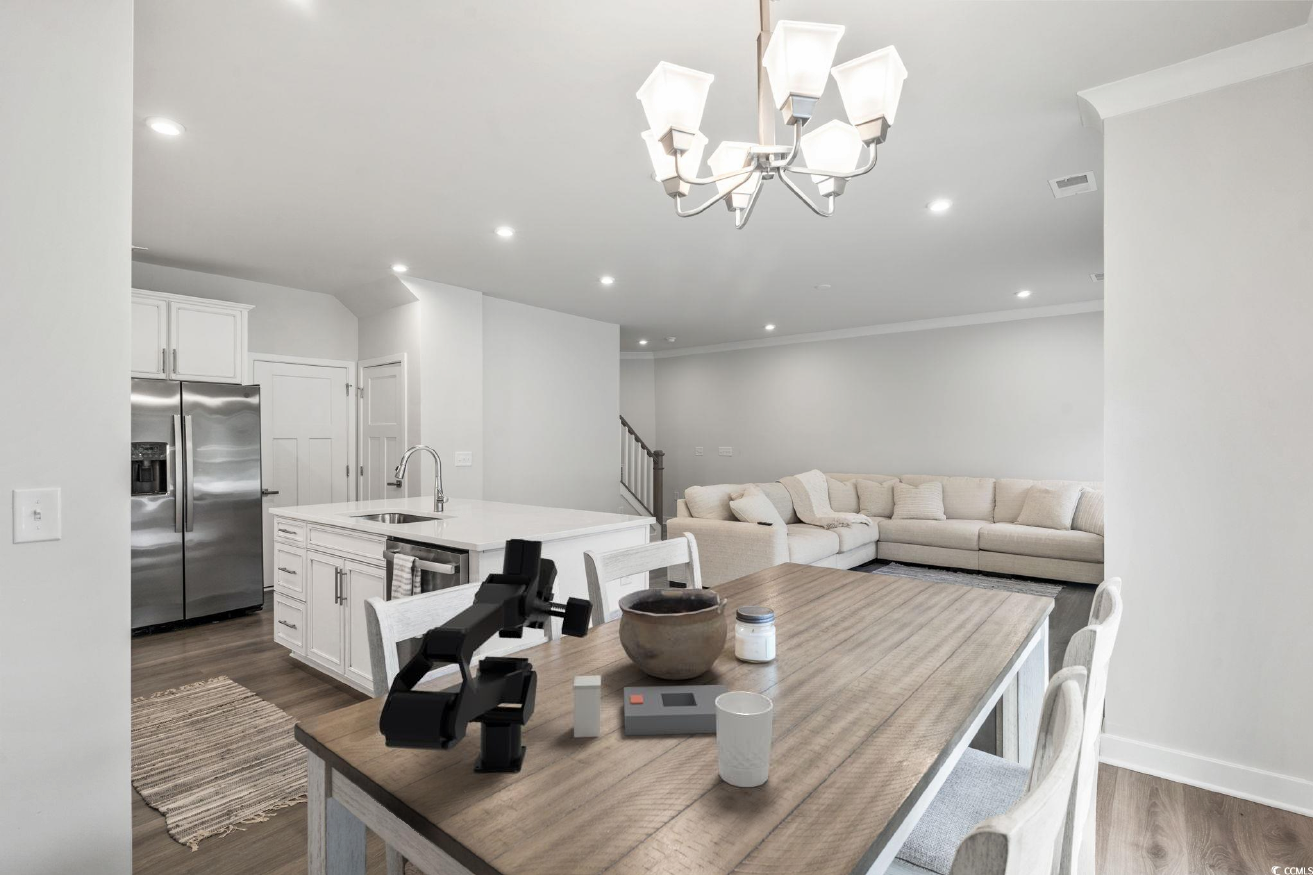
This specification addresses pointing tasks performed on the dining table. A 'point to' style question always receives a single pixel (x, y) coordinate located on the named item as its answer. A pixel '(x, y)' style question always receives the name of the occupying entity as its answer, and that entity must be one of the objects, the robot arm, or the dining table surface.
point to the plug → (587, 706)
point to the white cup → (743, 737)
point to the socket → (671, 709)
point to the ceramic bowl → (673, 630)
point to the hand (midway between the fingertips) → (548, 612)
